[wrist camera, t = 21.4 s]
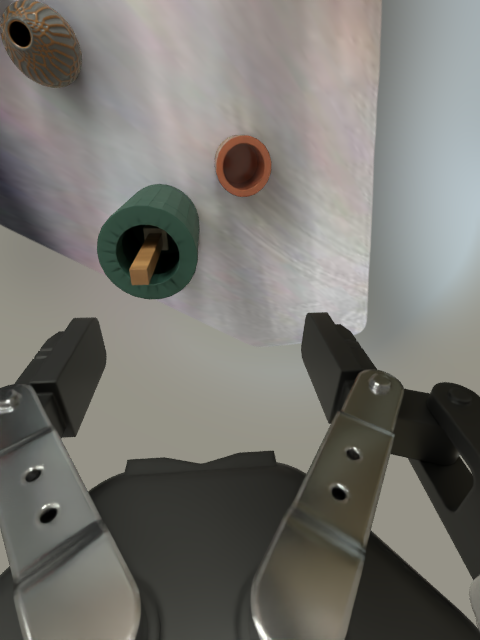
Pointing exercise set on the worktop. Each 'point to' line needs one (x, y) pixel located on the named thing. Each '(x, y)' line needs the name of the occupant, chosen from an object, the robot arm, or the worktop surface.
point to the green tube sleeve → (128, 237)
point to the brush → (149, 254)
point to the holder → (242, 165)
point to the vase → (41, 43)
